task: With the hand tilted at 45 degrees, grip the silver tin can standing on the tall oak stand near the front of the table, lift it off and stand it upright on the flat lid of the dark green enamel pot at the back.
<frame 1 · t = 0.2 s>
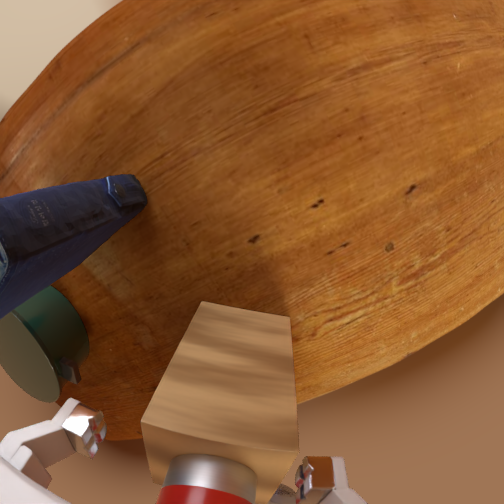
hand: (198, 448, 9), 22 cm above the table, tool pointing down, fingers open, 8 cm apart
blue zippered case: (103, 221, 30), on the table
pot: (52, 326, 35), on the table
stand: (239, 345, 33), on the table
can: (212, 475, 16), point 18 cm above the table, touching stand
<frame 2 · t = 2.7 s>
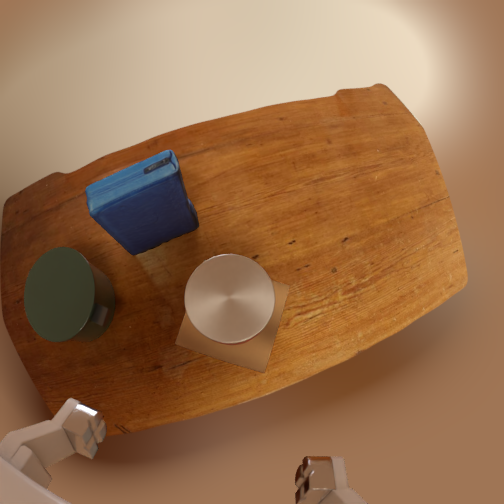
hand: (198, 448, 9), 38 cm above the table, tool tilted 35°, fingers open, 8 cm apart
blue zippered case: (163, 234, 52), on the table
pot: (82, 303, 47), on the table
stand: (235, 327, 47), on the table
can: (233, 315, 30), point 18 cm above the table, touching stand
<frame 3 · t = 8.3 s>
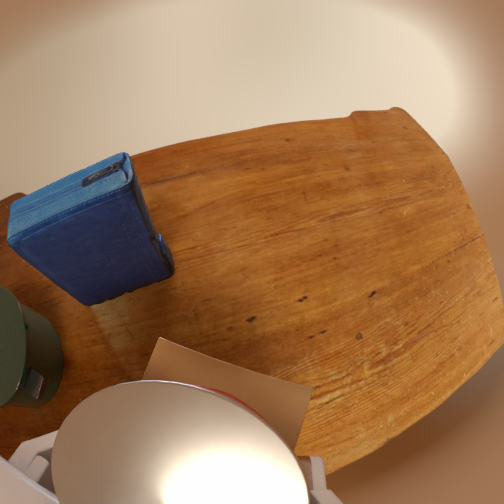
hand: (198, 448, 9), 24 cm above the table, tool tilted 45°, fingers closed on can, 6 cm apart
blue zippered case: (128, 281, 37), on the table
pot: (26, 358, 29), on the table
stand: (220, 416, 30), on the table
can: (207, 439, 14), point 18 cm above the table, touching gripper, stand
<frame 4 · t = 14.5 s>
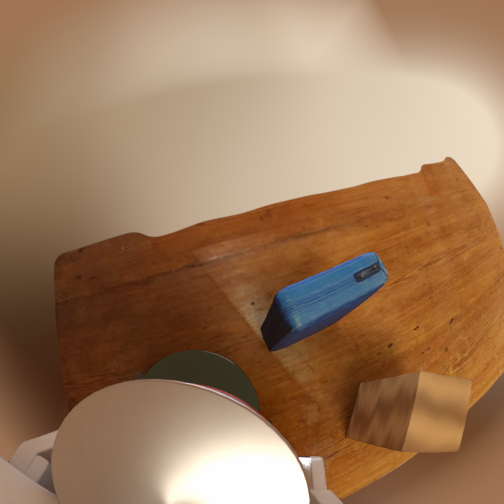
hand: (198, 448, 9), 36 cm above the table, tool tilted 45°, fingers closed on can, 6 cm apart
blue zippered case: (300, 326, 47), on the table
pot: (203, 406, 40), on the table
stand: (377, 413, 40), on the table
can: (207, 439, 14), point 30 cm above the table, touching gripper
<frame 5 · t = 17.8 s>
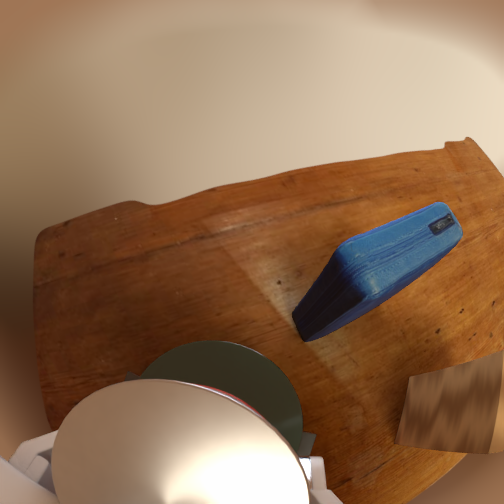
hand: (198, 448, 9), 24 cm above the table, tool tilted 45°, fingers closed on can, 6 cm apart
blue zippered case: (339, 310, 38), on the table
pot: (218, 416, 30), on the table
stand: (428, 412, 30), on the table
can: (207, 439, 14), point 18 cm above the table, touching gripper
when the fingers open (15 cm above the table, at t = 20.8 s): can stays where it is, resting on pot.
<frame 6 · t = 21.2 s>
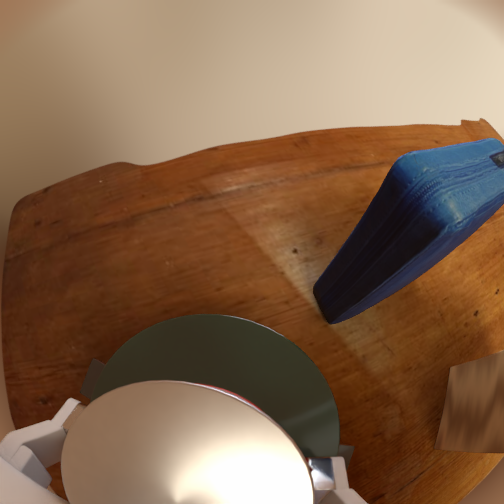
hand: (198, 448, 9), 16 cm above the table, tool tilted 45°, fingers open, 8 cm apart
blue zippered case: (368, 286, 30), on the table
pot: (217, 422, 22), on the table
stand: (469, 409, 22), on the table
can: (211, 437, 14), point 9 cm above the table, touching pot
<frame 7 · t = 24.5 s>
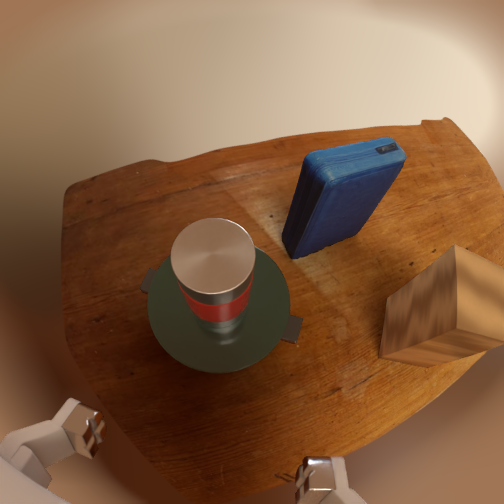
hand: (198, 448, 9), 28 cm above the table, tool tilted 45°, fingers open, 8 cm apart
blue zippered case: (321, 239, 47), on the table
pot: (220, 320, 39), on the table
stand: (408, 333, 40), on the table
can: (218, 299, 31), point 9 cm above the table, touching pot
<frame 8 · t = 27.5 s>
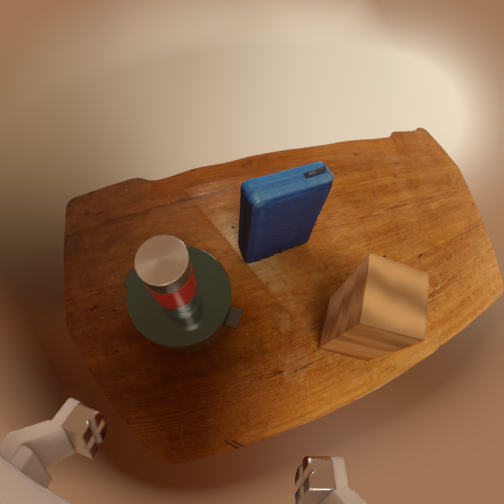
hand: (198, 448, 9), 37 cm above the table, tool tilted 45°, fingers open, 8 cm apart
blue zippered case: (274, 246, 57), on the table
pot: (186, 311, 49), on the table
stand: (349, 329, 49), on the table
can: (177, 293, 41), point 9 cm above the table, touching pot
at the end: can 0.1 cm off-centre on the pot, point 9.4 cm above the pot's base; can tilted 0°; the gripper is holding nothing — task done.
